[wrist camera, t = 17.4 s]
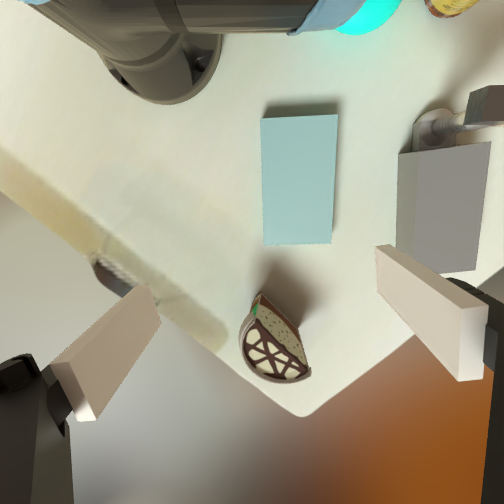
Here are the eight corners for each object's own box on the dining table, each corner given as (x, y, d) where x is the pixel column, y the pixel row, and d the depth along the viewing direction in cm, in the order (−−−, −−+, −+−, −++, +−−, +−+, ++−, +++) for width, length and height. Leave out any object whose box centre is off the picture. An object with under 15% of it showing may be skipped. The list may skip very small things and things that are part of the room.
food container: (228, 307, 44) (217, 346, 35) (254, 285, 43) (251, 319, 33) (276, 353, 47) (279, 401, 37) (303, 334, 45) (313, 378, 36)
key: (401, 138, 33) (480, 121, 21) (404, 116, 32) (489, 85, 20) (474, 137, 33) (601, 119, 20) (480, 115, 32) (614, 82, 20)
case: (399, 116, 34) (420, 107, 29) (464, 105, 34) (496, 95, 29) (395, 263, 40) (412, 276, 36) (450, 257, 40) (475, 270, 35)
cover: (260, 122, 36) (260, 118, 33) (332, 118, 35) (338, 114, 32) (264, 239, 41) (263, 245, 38) (326, 238, 40) (331, 243, 37)
